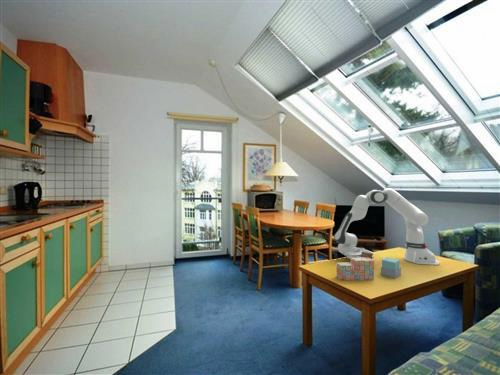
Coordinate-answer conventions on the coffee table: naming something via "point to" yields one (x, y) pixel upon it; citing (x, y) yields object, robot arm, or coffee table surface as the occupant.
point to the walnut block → (367, 254)
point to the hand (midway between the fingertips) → (367, 258)
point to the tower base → (391, 272)
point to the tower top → (390, 263)
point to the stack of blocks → (356, 269)
